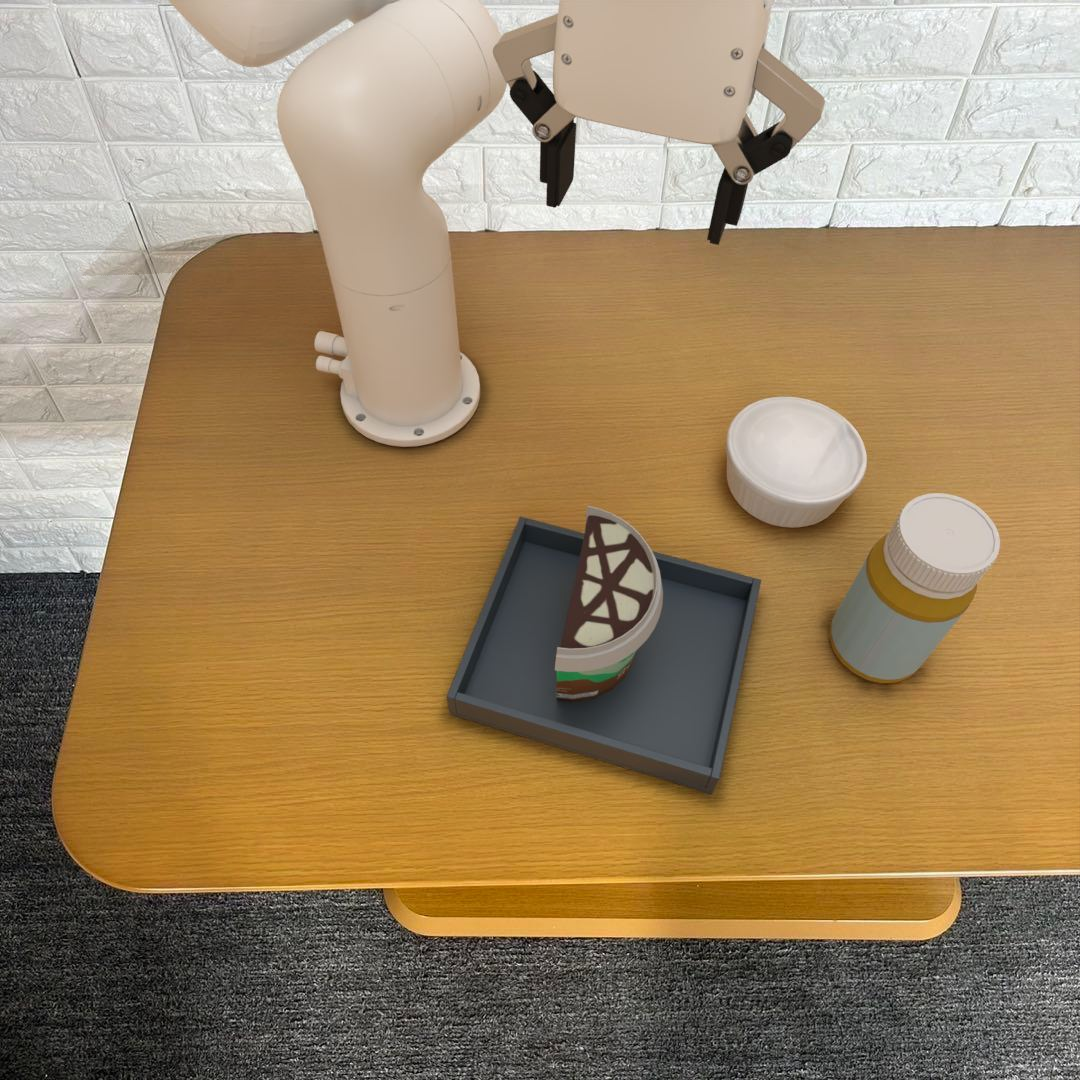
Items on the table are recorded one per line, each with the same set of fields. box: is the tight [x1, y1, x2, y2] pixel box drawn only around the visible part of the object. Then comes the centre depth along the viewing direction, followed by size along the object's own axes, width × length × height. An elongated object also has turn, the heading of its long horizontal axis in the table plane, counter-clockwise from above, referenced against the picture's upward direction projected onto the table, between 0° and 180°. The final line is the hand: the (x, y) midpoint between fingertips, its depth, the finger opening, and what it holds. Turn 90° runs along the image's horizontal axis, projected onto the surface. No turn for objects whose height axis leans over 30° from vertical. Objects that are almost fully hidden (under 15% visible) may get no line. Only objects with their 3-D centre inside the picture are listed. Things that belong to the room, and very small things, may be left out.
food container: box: [555, 505, 663, 702], centre depth 63 cm, size 12×6×10 cm, turn 168°
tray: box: [446, 516, 762, 795], centre depth 66 cm, size 19×16×3 cm
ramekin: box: [725, 396, 868, 529], centre depth 74 cm, size 11×11×5 cm
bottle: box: [829, 492, 1001, 684], centre depth 62 cm, size 7×7×15 cm
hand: (637, 211), depth 53 cm, fingers open, 9 cm apart
